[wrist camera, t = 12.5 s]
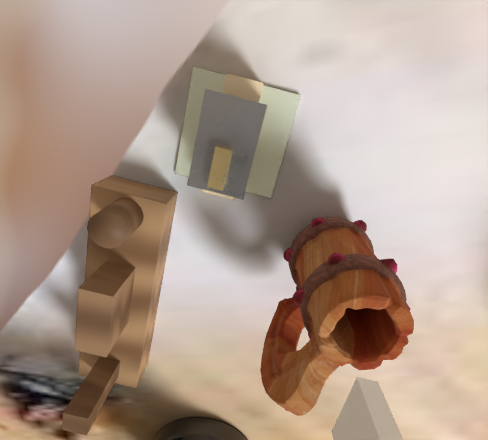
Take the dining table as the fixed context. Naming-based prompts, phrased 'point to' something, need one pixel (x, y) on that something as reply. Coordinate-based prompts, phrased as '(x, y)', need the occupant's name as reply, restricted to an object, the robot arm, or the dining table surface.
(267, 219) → the dining table surface
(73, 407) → the wooden peg board
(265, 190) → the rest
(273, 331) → the mug
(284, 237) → the dining table surface
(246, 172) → the lever cap
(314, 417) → the dining table surface
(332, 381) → the dining table surface
